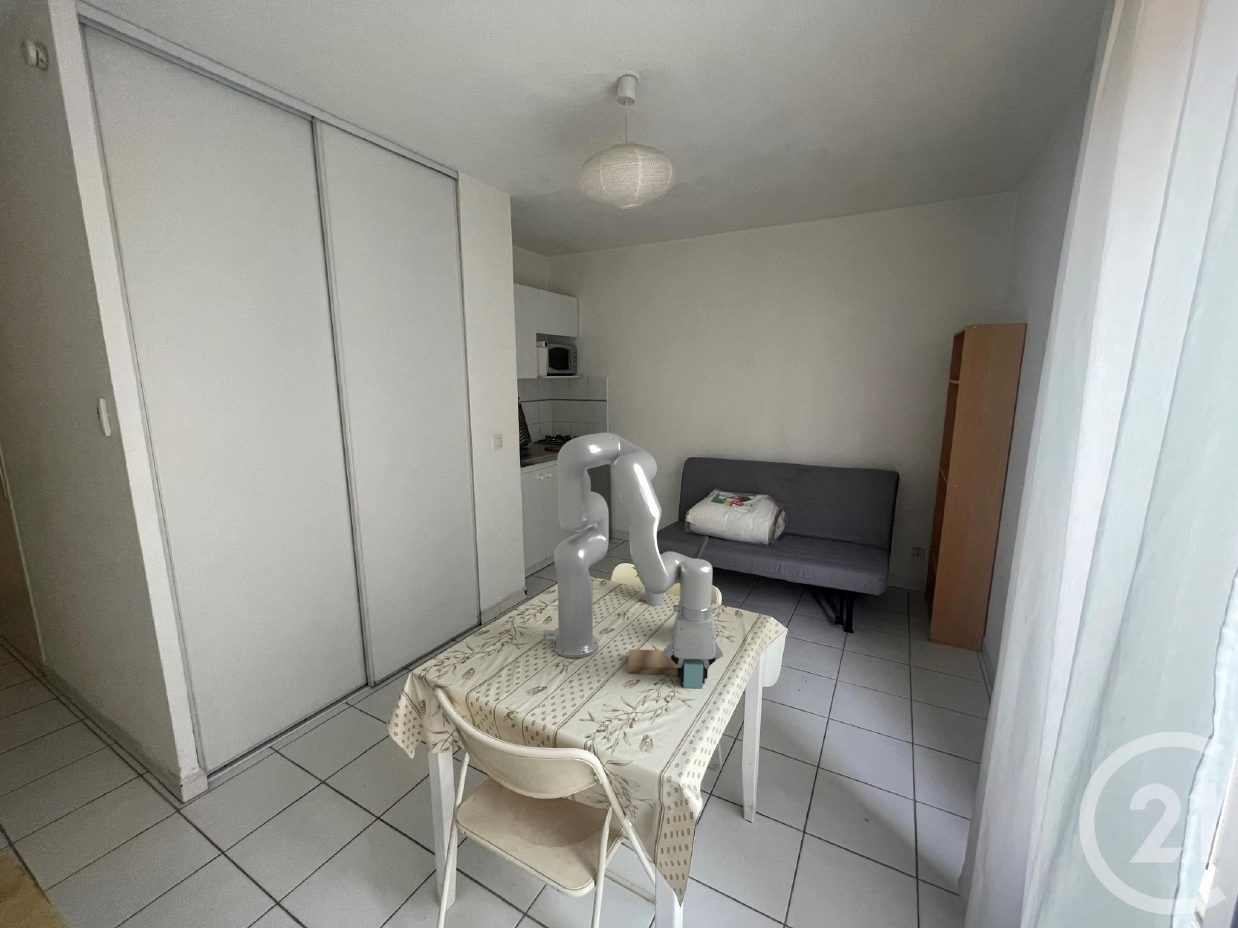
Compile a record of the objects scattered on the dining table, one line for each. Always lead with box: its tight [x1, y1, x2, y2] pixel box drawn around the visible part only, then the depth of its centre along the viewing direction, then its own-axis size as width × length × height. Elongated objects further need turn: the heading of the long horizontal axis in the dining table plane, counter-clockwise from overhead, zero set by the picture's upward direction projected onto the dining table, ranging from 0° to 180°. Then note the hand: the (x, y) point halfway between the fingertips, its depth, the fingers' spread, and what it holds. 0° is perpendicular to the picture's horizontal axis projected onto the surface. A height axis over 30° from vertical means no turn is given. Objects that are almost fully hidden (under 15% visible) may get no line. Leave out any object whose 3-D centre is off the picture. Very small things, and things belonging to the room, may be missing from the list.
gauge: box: [682, 659, 704, 689], centre depth 125 cm, size 4×10×6 cm, turn 178°
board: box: [627, 648, 703, 676], centre depth 129 cm, size 20×8×2 cm, turn 87°
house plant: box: [631, 566, 665, 607], centre depth 167 cm, size 14×14×16 cm
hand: (692, 679), depth 122 cm, fingers closed on gauge, 4 cm apart
